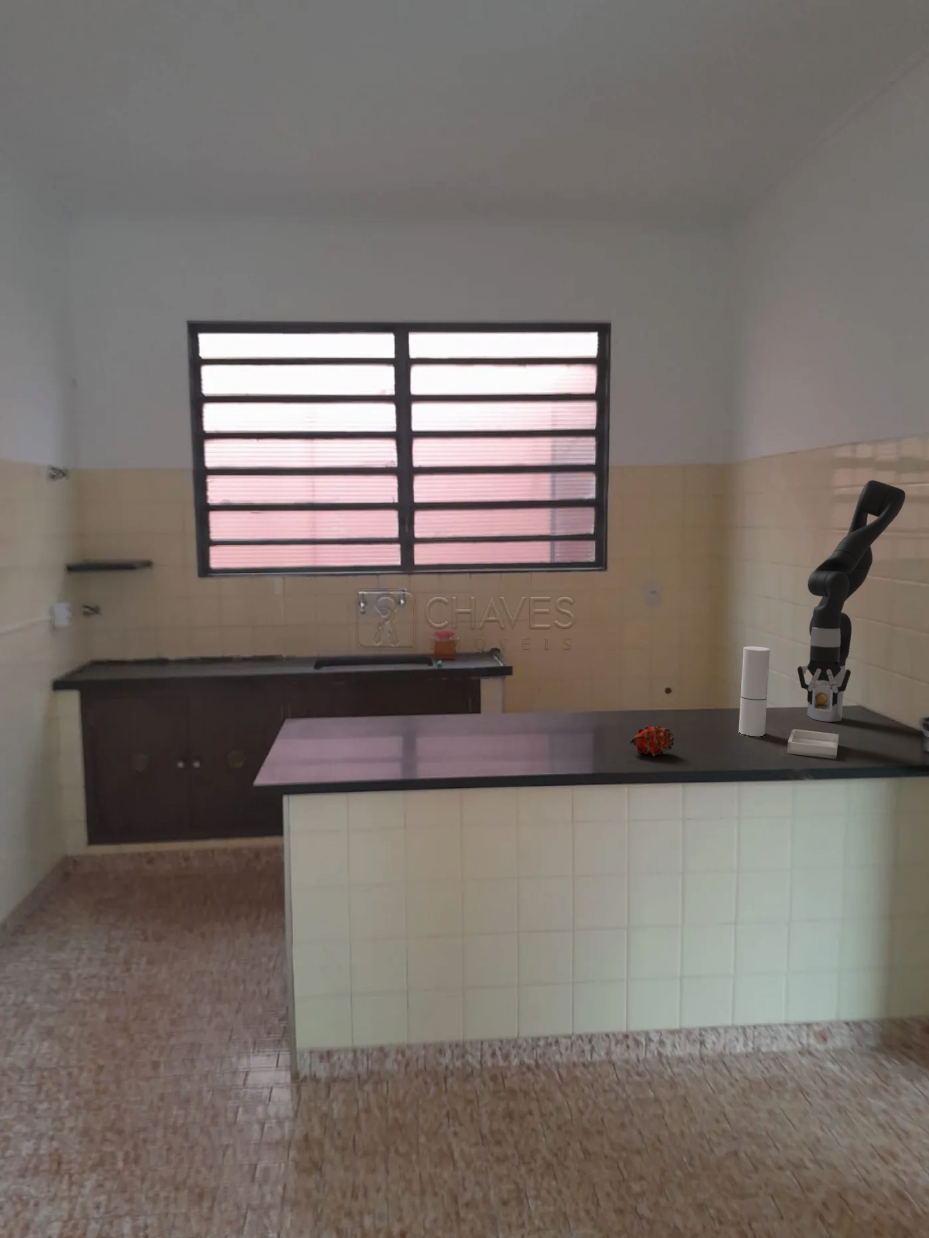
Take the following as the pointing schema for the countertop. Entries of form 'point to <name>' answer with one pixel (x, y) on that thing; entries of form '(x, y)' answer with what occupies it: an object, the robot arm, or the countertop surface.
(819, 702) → the ball
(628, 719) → the countertop surface
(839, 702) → the robot arm
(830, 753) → the tray
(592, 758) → the countertop surface
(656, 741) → the dragon fruit
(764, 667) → the cylindrical container
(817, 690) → the scoop
